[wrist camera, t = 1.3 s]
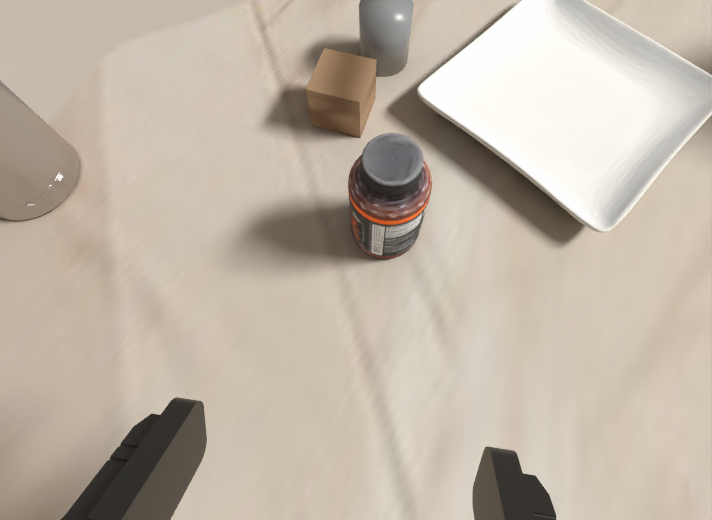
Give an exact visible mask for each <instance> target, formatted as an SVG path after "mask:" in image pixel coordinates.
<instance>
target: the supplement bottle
mask: <svg viewBox="0 0 712 520" xmlns="http://www.w3.org/2000/svg"><path fill="white" fill-rule="evenodd" d="M348 187H349V188H348V189H349V203H350V214H351V228H352V233H353V236H354V239H355V241H356V243H357V244H358V245H359V247H360V248H361V249H362V250H363V251H364V252H365V253H367V254H369V255H371V256H374V257H377V258H383V259H389V258H395V257H398V256H400V255H402V254H404V253H406V252H407V251H408V250H409V249H410V248H411V247H412V246H413V244H414V243H415V241H416V239H417V237H418V235H419V231H420V228H421V224H422V221H423V218H424V215H425V211H426V208H427V204H428V201H429V198H430V194H431V189H432V178H431V173H430V170H429V168H428V166H427V164H426V163H425V161H424V160H423V153H422V151H421V149H420V147H419V145H418V144H417V143H416V142H415V141H413V140H412V139H411V138H409V137H407V136H405V135H402V134H397V133H388V134H382V135H379V136H377V137H375V138H374V139H372V140H371V141H370V142H369V143H368V144H367V145H366V147H365V148H364V150H363V153H362V155H361V156H360V157H359V158H358V159H357V160H356V161H355V163H354V164H353V166H352V168H351V171H350V175H349V180H348Z"/></svg>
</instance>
